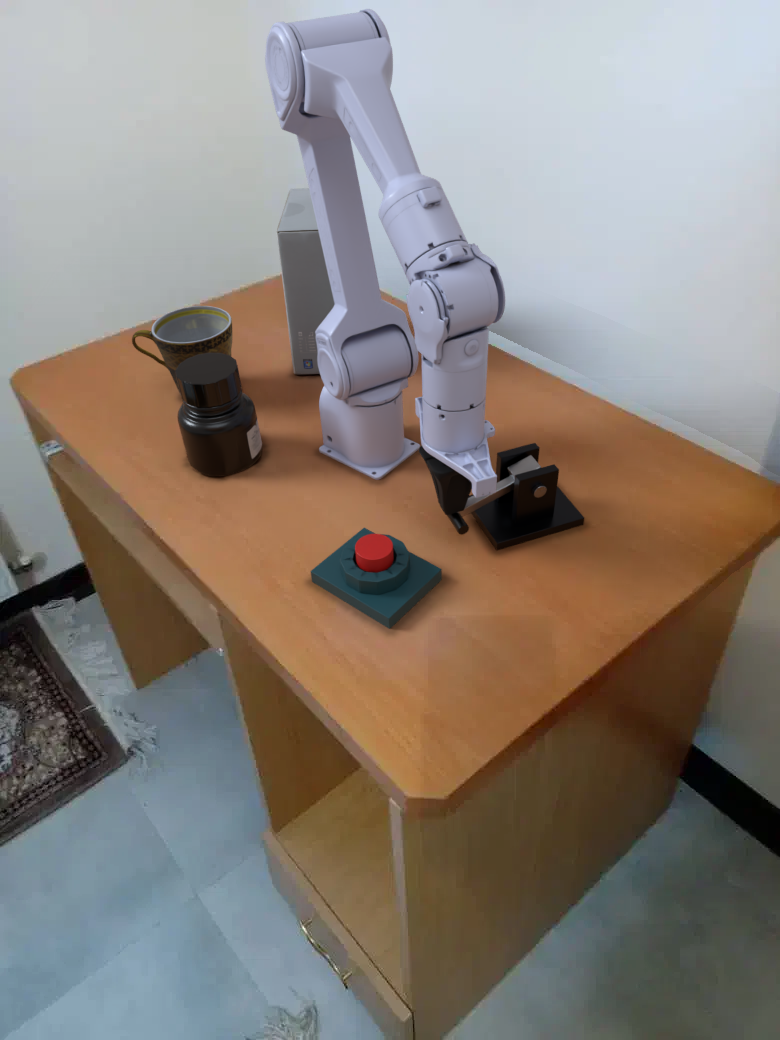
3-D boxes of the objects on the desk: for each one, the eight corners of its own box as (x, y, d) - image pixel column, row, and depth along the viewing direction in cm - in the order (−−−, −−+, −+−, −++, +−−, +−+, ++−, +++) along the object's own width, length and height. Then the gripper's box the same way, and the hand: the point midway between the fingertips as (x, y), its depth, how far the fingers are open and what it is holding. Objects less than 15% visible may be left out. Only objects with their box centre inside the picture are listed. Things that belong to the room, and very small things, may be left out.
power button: (348, 562, 76) (347, 548, 74) (373, 541, 78) (371, 528, 76) (377, 578, 74) (376, 565, 73) (401, 557, 76) (400, 543, 75)
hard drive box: (349, 375, 107) (336, 229, 94) (293, 377, 107) (273, 232, 94) (354, 321, 119) (344, 184, 106) (304, 322, 119) (287, 186, 106)
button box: (312, 583, 78) (308, 557, 76) (365, 539, 83) (363, 513, 80) (389, 630, 73) (388, 605, 71) (441, 581, 78) (441, 555, 75)
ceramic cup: (248, 370, 109) (235, 303, 103) (240, 410, 102) (226, 341, 95) (154, 375, 109) (136, 308, 103) (139, 416, 102) (118, 346, 95)
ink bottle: (277, 462, 93) (262, 373, 85) (208, 490, 90) (185, 400, 82) (242, 424, 99) (225, 338, 91) (176, 449, 96) (152, 362, 88)
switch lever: (461, 540, 79) (455, 525, 78) (441, 509, 83) (434, 494, 81) (553, 491, 80) (548, 475, 78) (528, 462, 83) (524, 446, 82)
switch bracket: (496, 552, 80) (500, 496, 75) (464, 505, 86) (465, 451, 81) (583, 526, 83) (592, 471, 78) (546, 482, 88) (552, 428, 83)
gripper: (532, 426, 67) (521, 543, 76) (461, 348, 77) (459, 459, 86) (455, 446, 65) (453, 563, 74) (393, 363, 75) (398, 475, 84)
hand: (452, 508), depth 80 cm, fingers closed, pressing on switch lever
